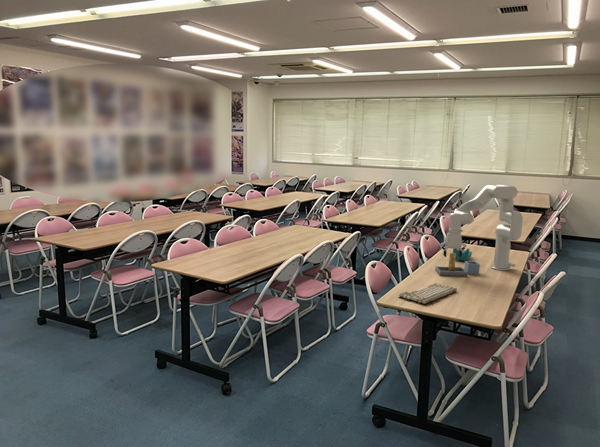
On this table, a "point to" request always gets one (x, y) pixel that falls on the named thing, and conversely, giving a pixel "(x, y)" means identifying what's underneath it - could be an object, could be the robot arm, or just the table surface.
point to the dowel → (451, 261)
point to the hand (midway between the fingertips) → (452, 256)
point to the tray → (457, 271)
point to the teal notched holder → (465, 254)
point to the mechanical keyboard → (428, 294)
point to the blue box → (472, 267)
